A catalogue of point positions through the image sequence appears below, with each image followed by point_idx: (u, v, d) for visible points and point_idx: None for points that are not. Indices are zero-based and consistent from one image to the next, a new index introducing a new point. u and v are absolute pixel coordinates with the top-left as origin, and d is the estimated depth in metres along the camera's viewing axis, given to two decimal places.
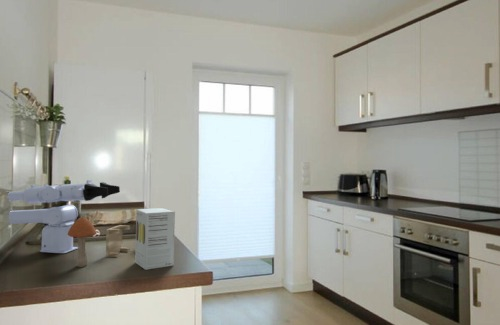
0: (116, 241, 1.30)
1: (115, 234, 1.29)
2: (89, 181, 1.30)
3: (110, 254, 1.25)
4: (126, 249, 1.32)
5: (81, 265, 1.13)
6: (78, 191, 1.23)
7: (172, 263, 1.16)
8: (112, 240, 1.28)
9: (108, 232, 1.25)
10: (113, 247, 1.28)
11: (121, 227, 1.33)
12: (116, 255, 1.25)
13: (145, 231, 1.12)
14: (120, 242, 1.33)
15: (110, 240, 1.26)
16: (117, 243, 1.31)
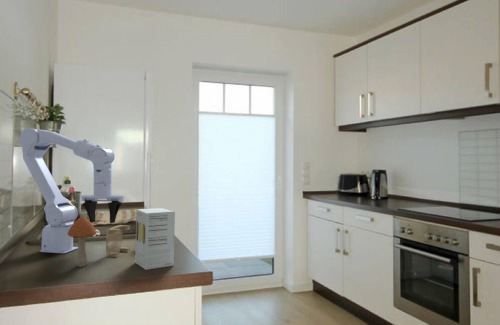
0: (116, 241, 1.30)
1: (115, 234, 1.29)
2: None
3: (110, 254, 1.25)
4: (126, 249, 1.32)
5: (81, 265, 1.13)
6: (122, 198, 1.30)
7: (172, 263, 1.16)
8: (112, 240, 1.28)
9: (108, 232, 1.25)
10: (113, 247, 1.28)
11: (121, 227, 1.33)
12: (116, 255, 1.25)
13: (145, 231, 1.12)
14: (120, 242, 1.33)
15: (110, 240, 1.26)
16: (117, 243, 1.31)
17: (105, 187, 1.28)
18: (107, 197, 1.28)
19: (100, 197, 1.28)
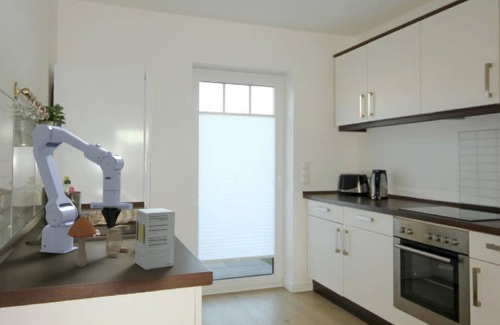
0: (116, 241, 1.30)
1: (115, 234, 1.29)
2: None
3: (110, 254, 1.25)
4: (126, 249, 1.32)
5: (81, 265, 1.13)
6: (132, 206, 1.29)
7: (172, 263, 1.16)
8: (113, 240, 1.28)
9: (108, 232, 1.25)
10: (113, 247, 1.28)
11: (121, 227, 1.33)
12: (116, 255, 1.25)
13: (145, 231, 1.12)
14: (120, 242, 1.33)
15: (110, 240, 1.26)
16: (117, 243, 1.31)
17: (114, 195, 1.28)
18: (116, 205, 1.27)
19: (109, 205, 1.27)
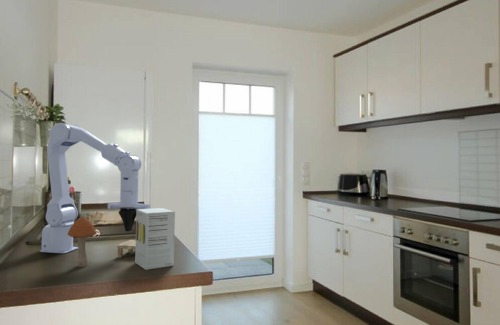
0: None
1: None
2: None
3: (119, 249, 1.25)
4: (130, 250, 1.32)
5: (81, 265, 1.13)
6: (149, 207, 1.28)
7: (172, 263, 1.16)
8: None
9: None
10: None
11: None
12: (119, 256, 1.25)
13: (145, 231, 1.12)
14: None
15: None
16: None
17: (132, 195, 1.27)
18: (134, 205, 1.26)
19: (127, 205, 1.26)
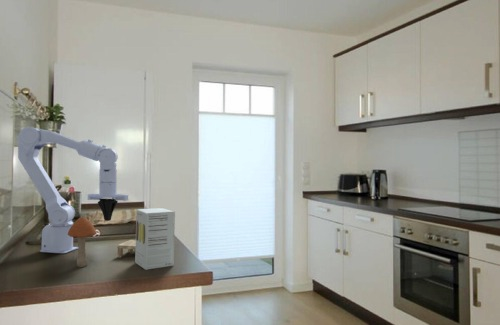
0: None
1: None
2: None
3: (119, 249, 1.25)
4: (130, 250, 1.32)
5: (81, 265, 1.13)
6: (127, 197, 1.34)
7: (172, 263, 1.16)
8: None
9: None
10: None
11: None
12: (119, 256, 1.25)
13: (145, 231, 1.12)
14: None
15: None
16: None
17: (110, 186, 1.33)
18: (112, 196, 1.32)
19: (106, 196, 1.32)
